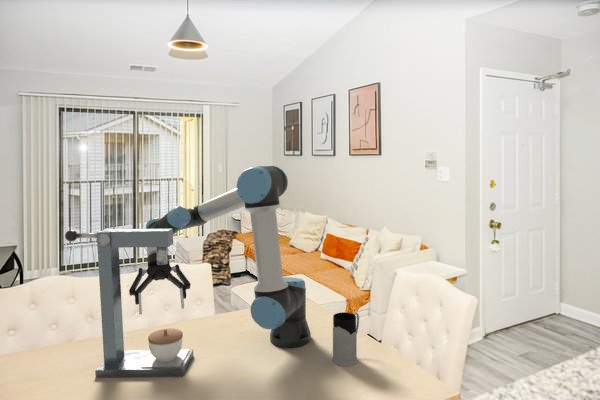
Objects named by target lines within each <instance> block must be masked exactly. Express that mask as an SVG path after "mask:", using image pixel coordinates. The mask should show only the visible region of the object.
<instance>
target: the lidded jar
mask: <svg viewBox="0 0 600 400" xmlns="http://www.w3.org/2000/svg"><path fill="white" fill-rule="evenodd" d="M183 333H184V332H183V331H182V330H181V329H178V328H162V329H158V330H156V331H153V332H151V333H150V334H149V335H148V337H147V339H148V348H149V350H150V352H151V354H152V355H153V357H155V358H156V359H157V360H158V361H160V362H167V361H171V360H173V359H175V358H176V356H177V355H178V354H179V352H180V350H181V349H182V346H183V335H184V334H183Z"/></svg>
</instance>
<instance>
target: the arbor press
mask: <svg viewBox="0 0 600 400" xmlns="http://www.w3.org/2000/svg"><path fill="white" fill-rule="evenodd" d="M64 238H65V240H66V241H68V242H74V241H76V240H77V239H96V240H95V241H96V243H97V245H96V246H97V262H98V278H99V282H98V283H99V296H100V309H101V310H100V311H101V312H100V313H101V314H100V315H101V317H100V318H101V328H102V329H101V331H102V332H101V333H102V346H103V347H102V350H103V351H102V352H103V362H101V364H100V365H99V366H98V367H97V368H96V369H95V371H94V373H95V378H100V379H101V378H160V377H161V378H162V377H163V378H164V377H165V378H167V377H173V378H175V377H177V378H178V377H179V378H180V377H183V376H184V374H185V373H186V370H187V369H188V367H189V365H190V363H191V361H192V360H193V358H194V349H193V348H192V349H190V348H189V349H182V348H181V350H180V352H179V354H178V355H177V356H176V358H175V359H173V360H171V361H167V362H160V361H158V360H157V359H156V358H155V357H153V355H152V354H151V352H150V349H125V343H124V326H123V325H124V321H123V307H122V306H123V304H122V287H121V270H120V269H121V267H120V266H121V265H120V252H119V251H120V249H119V248H147V247H156V250H157V265H166V264H168V261H167V247H168V248H169V247H171V246H172V245H173V244H174V234H173V229H146V228H131V229H130V228H121V229H120V228H104V229H102V230H99V231H97V232H77V231H76V230H73V229H71V230H70V229H69V230H68V231H66V233H65V235H64Z"/></svg>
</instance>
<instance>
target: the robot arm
mask: <svg viewBox="0 0 600 400" xmlns="http://www.w3.org/2000/svg"><path fill="white" fill-rule="evenodd" d="M237 178H238V179H237V181H236V188H233V189H232V190H229V191H226V192H224V193H222V194H220V195H218V196H216V197H213V198H211V199H208V200H207V201H206V200H205V201H204V202H201V203H200V204H197V205H195V206H192V207H190V208H186V207H185V206H181V205H177V206H175V207H174V208H171V209H170V210H169V211H168V212H167V213H166V214H165V215H164V216H162V217H161V218H160V217H155V218H152V219H149V220H148V221H147V222H146V224H145V229H173V235H175V234H176V233H178V232H179V231H182V230H186V229H190V228H194V227H200V226H203V225H205V224H206V223H209V222H210V221H213V220H215V219H218V218H220V217H222V216H225V215H227V214H230V213H231V212H235V211H237V210H239V209H241V208H244V209H245V210H246V211H248V213H249V214H250V223H251V231H252V239H253V248H254V259H255V267H256V276H257V284H256V285H255V286H254V287H253V290H254V299H253V301H252V303H251V305H250V316H251V317H252V320H253V322H254V323H255V324H257V325H258V327H260V328H262V329H265V330H270V333H269V340H270V343H272V344H273V345H274V346H277V347H281V348H297V347H302V346H304V345H307V344H308V343H309V342H310V341H311V340H312V339H311V338H312V336H311V334H312V333H311V330H310V329H311V328H310V327H309V325H308V321H307V318H306V317H307V314H306V313H307V311H306V310H307V309H306V307H307V305H306V298H307V297H306V292H307V291H306V290H307V287H306V281H305V280H304V279H302V278H299V277H298V278H297V277H290V276H286V277H284V274H283V265H282V257H281V245H280V239H279V238H280V237H279V230H278V229H279V228H278V219H277V212H276V211H277V209H278V208H279V206H280V205H281V204H280V197H281V196H283V195H284V194H285V193H286V191H287V189H288V185H289V182H288V181H289V180H288V176H287V174H286V173H285V171H284V170H283V169H282V168H280V167H278V166H276V165H275V166H274V165H268V166H267V165H263V166H262V165H257V166H252V167H248V168H246V169H244V170H243V171H242V172H241V173H240V174H239V176H238V177H237ZM146 256H147V258H146V259H147V268H145V269H143V268H142V267H139V268H138V271H137V276H136V277H135V279H134V280H133V283H132V284H131V286H130V288H129V290H128V294H129V296H130V297H131V296H134V303H135V305H138V314H139V315H142V314H143V313H142V312H143V309H142V308H143V307H142V292H144V290H146V288H147V287H148V286H149V284H150V283H152V282H153V281H164V280H167V281H168V282H171V284H173V285H175V287H177V288H178V289H179V296H180V297H179V299H180V307H181V310H183V309H185V300H186V299H187V290H190V289H191V282H190V281H189V279H188V277H186V275H185V274H184V273H183V272H182V270H181V269H180V264H174V266H171V265H170V264H171V263H170V255H169V247H167V261H168V264H166V265H157V250H156V247H146ZM171 272H174V273H176V276H177V277H178V278H179V279H178V278H177V277H175V276H174V275H173V273H171ZM146 274H147V277H146V278H145V279H144V280H143V281H142V282H141V280H142V279H143V277H145V275H146ZM140 282H141V284H140Z"/></svg>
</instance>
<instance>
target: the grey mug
mask: <svg viewBox="0 0 600 400" xmlns="http://www.w3.org/2000/svg"><path fill="white" fill-rule="evenodd" d="M332 321H333V322H332V323H333V324H332V325H333V327H332V357H331V363H333V364H334V365H337V366H340V367H351V366H355V365H356V364H358V362H359V359H358V357H357V354H358V353H357V352H358V351H357V349H358V348H357V338H358V337H357V334H358V333H359V332H358V330H359V324H360V316H359V313H357V312H354V313H351V312H343V311H342V312H337V313H335V314H333V317H332Z"/></svg>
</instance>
